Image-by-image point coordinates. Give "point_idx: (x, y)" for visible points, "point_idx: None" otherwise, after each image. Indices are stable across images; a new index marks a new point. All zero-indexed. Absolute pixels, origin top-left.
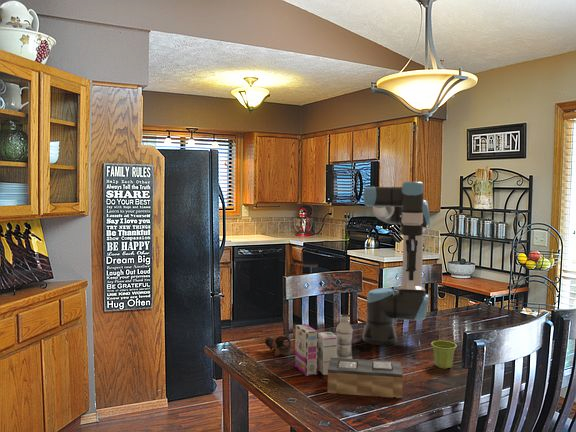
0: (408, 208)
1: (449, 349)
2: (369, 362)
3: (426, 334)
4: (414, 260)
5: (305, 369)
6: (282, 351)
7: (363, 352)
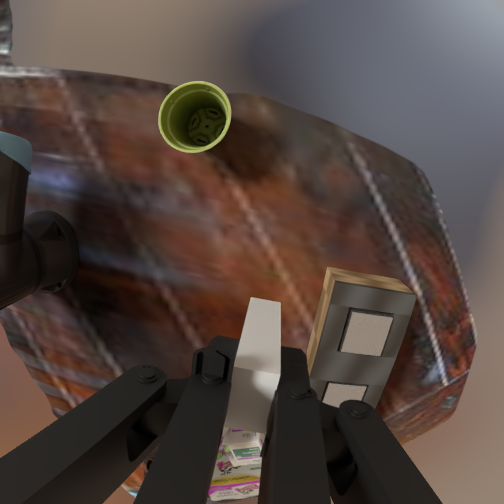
0: None
1: (228, 108)
2: (334, 357)
3: (13, 132)
4: (424, 499)
5: None
6: None
7: (125, 306)
